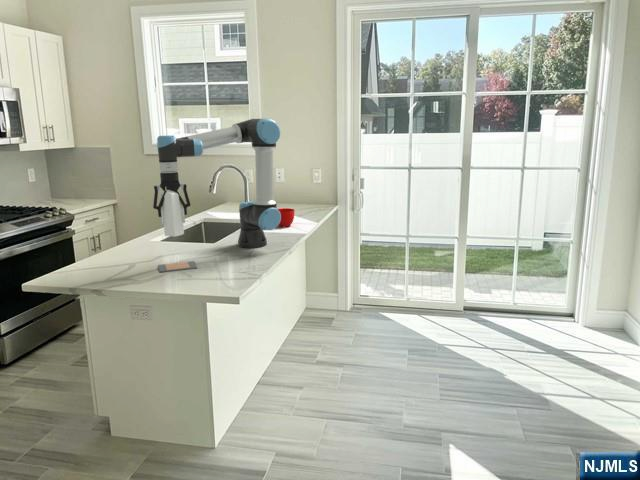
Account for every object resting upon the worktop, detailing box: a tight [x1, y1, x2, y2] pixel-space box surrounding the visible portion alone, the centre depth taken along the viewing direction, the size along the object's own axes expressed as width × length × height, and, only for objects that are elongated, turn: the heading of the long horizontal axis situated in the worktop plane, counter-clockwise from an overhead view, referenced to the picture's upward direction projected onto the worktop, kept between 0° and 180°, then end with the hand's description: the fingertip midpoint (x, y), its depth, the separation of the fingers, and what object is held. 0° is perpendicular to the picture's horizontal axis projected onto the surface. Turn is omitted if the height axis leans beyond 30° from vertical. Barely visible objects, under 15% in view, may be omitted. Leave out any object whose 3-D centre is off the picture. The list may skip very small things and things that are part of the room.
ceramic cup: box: [277, 207, 295, 228], centre depth 312 cm, size 13×17×10 cm
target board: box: [157, 260, 198, 274], centre depth 228 cm, size 16×11×1 cm
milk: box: [160, 187, 185, 237], centre depth 222 cm, size 6×6×22 cm
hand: (173, 223), depth 223 cm, fingers closed on milk, 8 cm apart
